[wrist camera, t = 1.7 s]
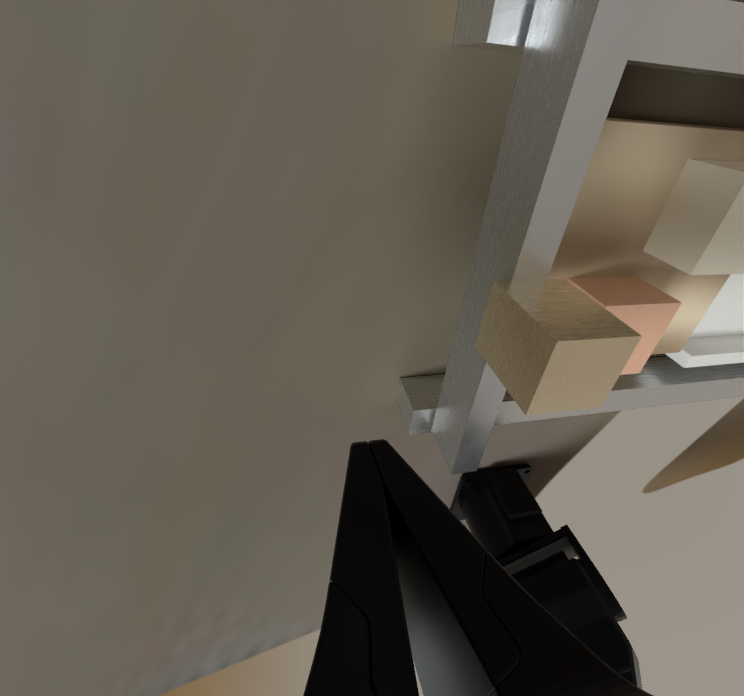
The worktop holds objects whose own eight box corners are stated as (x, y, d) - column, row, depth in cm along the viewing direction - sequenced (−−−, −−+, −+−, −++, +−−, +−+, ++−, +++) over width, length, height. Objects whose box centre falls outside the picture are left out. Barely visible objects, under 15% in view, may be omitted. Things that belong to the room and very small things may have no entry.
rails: (748, 367, 34) (785, 391, 31) (395, 400, 27) (408, 434, 24) (993, 62, 22) (1083, 62, 19) (463, -25, 15) (502, -40, 12)
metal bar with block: (465, 426, 25) (526, 538, 19) (419, 431, 24) (468, 549, 18) (599, -4, 13) (860, -48, 7) (517, -17, 12) (735, -78, 7)
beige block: (708, 250, 22) (762, 273, 20) (642, 250, 21) (690, 275, 19) (760, 163, 20) (829, 177, 17) (688, 158, 19) (750, 174, 16)
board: (656, 335, 29) (679, 352, 27) (463, 348, 25) (477, 368, 24) (778, 131, 21) (819, 138, 20) (527, 110, 18) (553, 116, 16)
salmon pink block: (603, 342, 25) (639, 373, 22) (539, 347, 24) (570, 379, 21) (637, 276, 22) (682, 302, 20) (567, 278, 21) (606, 305, 19)
